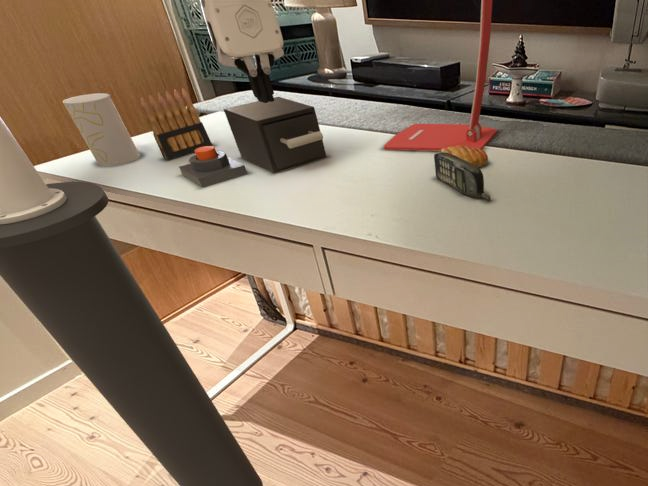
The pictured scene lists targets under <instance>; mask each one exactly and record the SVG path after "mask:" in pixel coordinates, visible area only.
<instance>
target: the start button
mask: <svg viewBox="0 0 648 486" xmlns="http://www.w3.org/2000/svg"><path fill="white" fill-rule="evenodd" d="M194 151H195V152H194V155H196V156H197V158H198V160H209V159H213V158H216V157H218V155H217V153H216V151H217V150H216V148H215V146H214V145H212V146H204V147H199V148H197V149H195V150H194Z"/></svg>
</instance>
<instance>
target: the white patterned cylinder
mask: <svg viewBox="0 0 648 486" xmlns="http://www.w3.org/2000/svg"><path fill="white" fill-rule="evenodd" d="M61 102H62V104H63V105H64V107H65V109H66V111H67V113H68V114H69V116H70V118H71V119H72V121H73V123H74V125H75V126H76V128H77V130H78V131H79V132H78V133H80V135H81V136H82V138H83V140H84V142H85V143H86V145H87V147H88V149H89V150H90V152H91V154H92V156H93V157H94V159H95V161H96V163H97V164H98V166H101V167H114V166H120V165H124V164H128V163H131V162H134V161H136V160H138V159H139V158H140V157H141V154H140V152H139V150H138V149H137V146H136V144H135V143H134V140H133V138H132V136H131V134H130V133H129V131H128V129H127V127H126V125H125V123H124V121H123V119H122V117H121V115H120V113H119V110H118V109H117V108H116V105H115V103H114V102H113V99H112V97H111V95H110V94H109V93H105V92H103V93H101V92H100V93H99V92H98V93H88V94H80V95H76V96H72V97H68V98H66V99H63V100H62V101H61Z"/></svg>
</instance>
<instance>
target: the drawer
mask: <svg viewBox="0 0 648 486" xmlns="http://www.w3.org/2000/svg"><path fill="white" fill-rule="evenodd" d="M315 113H316V112H315ZM315 113H310V114H302V115H298V116H294V117H290V118H286V119H282V120H278V121H274V122H270V123H266V124H262V128H263V131H264V134H265V138H266V141H267V144H268V147H269V150H270V153H271V156H272V159H273V162H274V165H275V168H276V169H281V168H284V167H288V166H291V165H294V164H297V163H301V162H304V161H307V160H310V159H313V158H317V157H320V156H323V155H326V156H327V152H326V148H325V144H324V140H323V139H324V135H323V133H322V132H321V129H320V124H319V121H318V116H317V113H316V114H315Z"/></svg>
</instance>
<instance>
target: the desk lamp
mask: <svg viewBox="0 0 648 486" xmlns="http://www.w3.org/2000/svg"><path fill="white" fill-rule="evenodd" d="M480 2H481V3H480V23H479V24H480V26H479V42H478V43H479V44H478V54H477V64H476V76H475V84H474V85H475V86H474V93H473V99H472V106H471V113H470V121H469V124H464V123H463V124H461V123H460V124H459V123H414V124H412V125H410V126H407V127H406V128H404V129H402V130H401V131H399V132H398V133H396V134H395V135H394V136H393V137H391V138H390V139H389V140H388V141H387V142H386V143H385V144H383V149H384V150H387V151H388V150H389V151H440V152H441V149H443V148H448V147H456V146H458V145H460V146H463V147H464V146H467V147H472V148H474V149H476V148H479V149H482V150H484V148H485V147H486V146H487V144H489V142H491V140H492V139H493V138H494V137H495V136H496V134H498V129H497V128H493V127H486V126H482V125H481V123H480V122H479V121H480V115H481V109H482V104H483V98H484V93H485V92H484V91H485V86H486V79H487V70H488V63H489V62H488V61H489V54H490V53H489V52H490V42H491V30H492V13H493V0H481V1H480Z"/></svg>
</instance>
